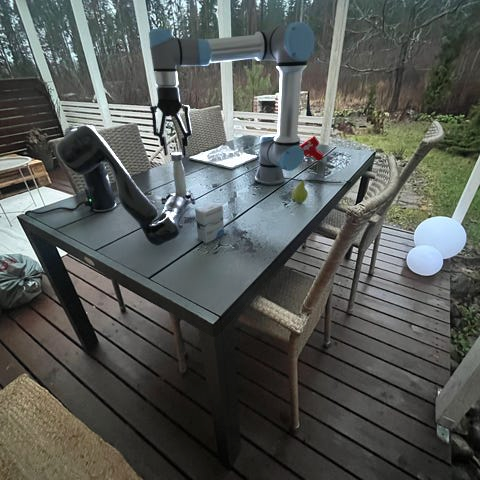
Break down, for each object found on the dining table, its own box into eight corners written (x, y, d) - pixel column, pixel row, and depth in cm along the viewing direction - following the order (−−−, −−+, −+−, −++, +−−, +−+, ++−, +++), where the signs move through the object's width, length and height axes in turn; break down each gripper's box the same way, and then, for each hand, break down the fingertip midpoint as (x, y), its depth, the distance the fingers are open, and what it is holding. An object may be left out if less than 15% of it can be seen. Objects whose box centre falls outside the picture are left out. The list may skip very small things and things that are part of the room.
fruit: (288, 200, 123) (290, 174, 116) (302, 197, 125) (305, 172, 119) (296, 206, 118) (299, 179, 111) (310, 203, 120) (314, 177, 114)
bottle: (183, 204, 120) (176, 152, 108) (190, 207, 118) (184, 154, 106) (176, 208, 117) (168, 155, 104) (183, 211, 115) (176, 156, 102)
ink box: (215, 229, 101) (213, 200, 95) (224, 234, 98) (223, 205, 92) (197, 238, 96) (194, 208, 90) (206, 243, 93) (203, 213, 87)
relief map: (231, 168, 161) (231, 160, 158) (189, 159, 179) (189, 151, 176) (257, 158, 179) (257, 150, 176) (217, 150, 197) (216, 142, 194)
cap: (176, 157, 108) (176, 151, 107) (184, 158, 107) (184, 153, 105) (169, 160, 105) (168, 154, 104) (177, 161, 103) (176, 155, 102)
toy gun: (327, 155, 171) (314, 135, 167) (326, 157, 167) (314, 136, 164) (302, 170, 181) (290, 151, 177) (301, 172, 177) (288, 153, 174)
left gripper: (192, 200, 100) (198, 183, 114) (153, 200, 100) (164, 183, 114) (194, 218, 104) (200, 199, 118) (156, 218, 104) (167, 199, 118)
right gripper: (197, 85, 96) (201, 151, 108) (141, 85, 95) (152, 152, 108) (194, 87, 90) (200, 157, 102) (135, 87, 89) (147, 157, 101)
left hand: (182, 191), depth 116 cm, fingers closed on bottle, 4 cm apart
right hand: (175, 154), depth 105 cm, fingers open, 6 cm apart
